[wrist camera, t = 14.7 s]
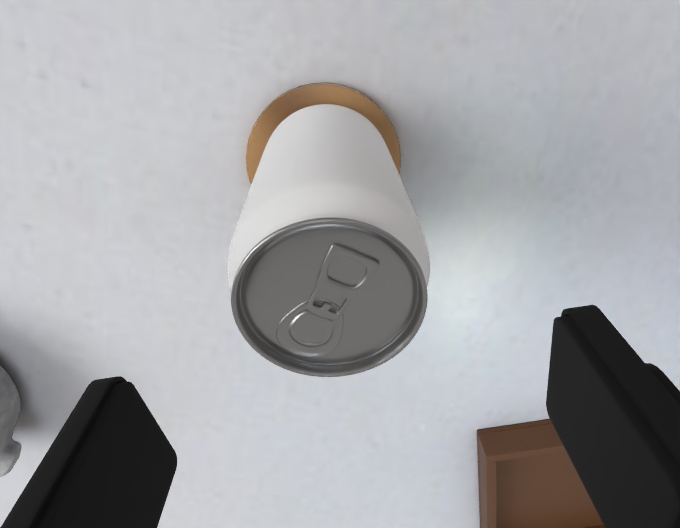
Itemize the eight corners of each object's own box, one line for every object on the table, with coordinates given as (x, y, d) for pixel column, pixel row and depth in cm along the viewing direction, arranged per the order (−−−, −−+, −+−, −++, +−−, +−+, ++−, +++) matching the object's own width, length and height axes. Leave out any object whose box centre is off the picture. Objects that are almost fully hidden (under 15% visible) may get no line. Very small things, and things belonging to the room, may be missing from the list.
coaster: (320, 43, 20) (320, 45, 20) (430, 161, 23) (432, 164, 23) (216, 165, 23) (214, 169, 23) (326, 255, 26) (326, 259, 26)
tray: (476, 429, 35) (486, 456, 33) (652, 404, 34) (672, 430, 32) (480, 540, 44) (488, 567, 42) (618, 522, 43) (633, 548, 41)
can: (245, 194, 23) (186, 350, 13) (293, 76, 20) (264, 160, 10) (353, 239, 25) (375, 408, 15) (412, 137, 22) (488, 261, 12)
